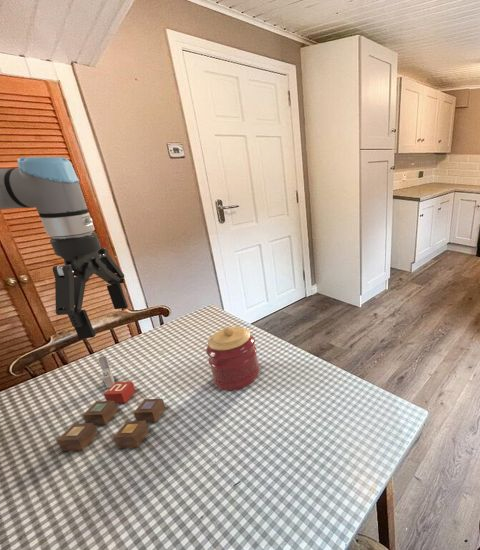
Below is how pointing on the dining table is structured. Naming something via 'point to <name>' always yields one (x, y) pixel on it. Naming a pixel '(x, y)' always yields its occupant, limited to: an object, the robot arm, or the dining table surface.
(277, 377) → the dining table surface
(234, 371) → the kitchen canister
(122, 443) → the right word block
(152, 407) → the right word block
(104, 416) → the left word block
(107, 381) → the lighter
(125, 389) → the red letter cube
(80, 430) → the word block
